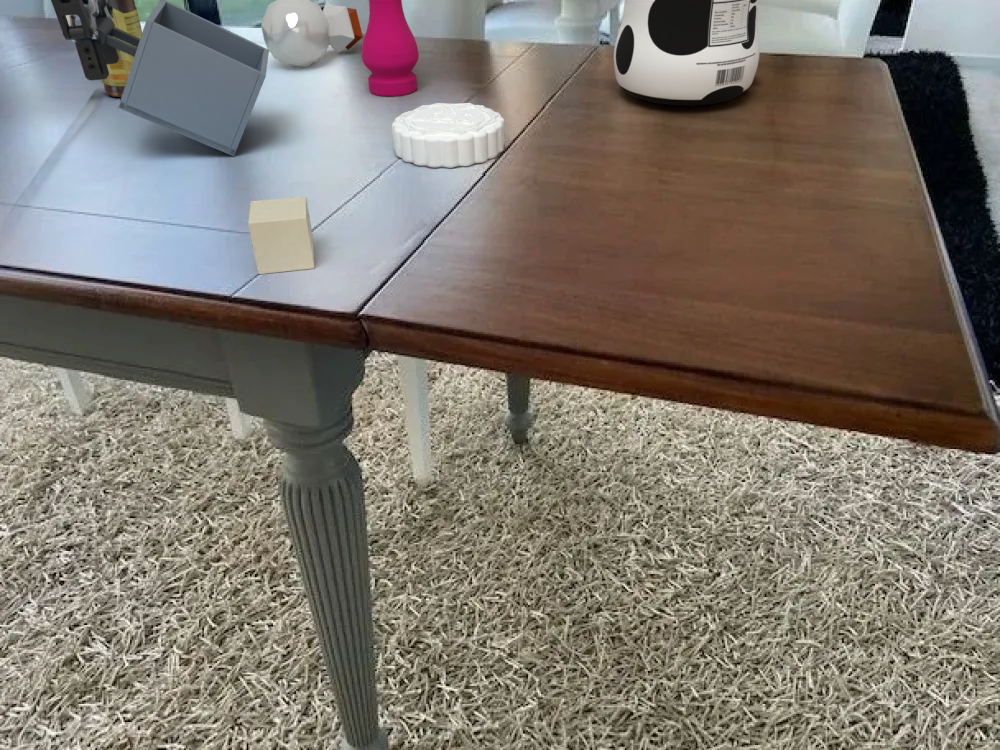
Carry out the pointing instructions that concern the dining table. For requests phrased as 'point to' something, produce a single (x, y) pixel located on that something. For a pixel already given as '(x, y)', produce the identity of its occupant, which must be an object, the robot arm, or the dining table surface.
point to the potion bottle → (308, 30)
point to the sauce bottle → (128, 22)
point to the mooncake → (448, 135)
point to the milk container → (687, 50)
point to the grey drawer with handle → (190, 75)
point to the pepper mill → (389, 50)
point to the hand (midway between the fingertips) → (103, 70)
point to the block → (281, 235)
